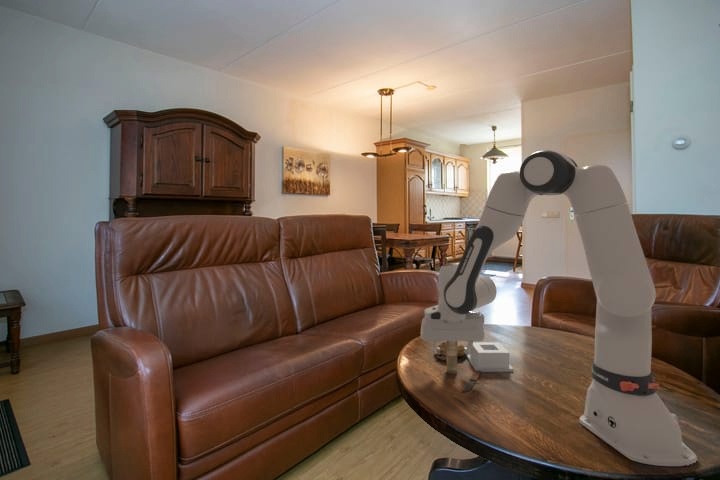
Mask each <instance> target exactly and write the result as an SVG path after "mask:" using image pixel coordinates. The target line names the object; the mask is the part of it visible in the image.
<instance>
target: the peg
mask: <svg viewBox="0 0 720 480" xmlns="http://www.w3.org/2000/svg"><path fill="white" fill-rule="evenodd" d="M446 342H447V361H446V373H447V374H449V375H450V374H451V375H454V374H455V375H456V374H458V357H457V344H458V341H446Z"/></svg>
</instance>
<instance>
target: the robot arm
mask: <svg viewBox="0 0 720 480" xmlns="http://www.w3.org/2000/svg"><path fill="white" fill-rule="evenodd" d="M557 195H564V196H565V197H566V198H567V199H568V201H569V202H570V205H571V208H572V212H573V214H574V219H575V222H576V225H577V228H578V232H579V234H580V238H581V242H582V245H583V249H584V253H585V257H586V258H585V259H586V262H587V266H588V270H589V273H590V277H591V282H592V284H593V290H594V293H595V297H596V310H595V327H594V329H595V331H594V357H593V358H594V360H593V361H592V364H591V365H592V366H591V378H592V381H591V383H590V385H589V387H588V388H587V390H586V396H585V403H584V411H583V414H582V415H581V416H580V417H579V421H578V422H579V424H581V425H582V426H583V427H585V428H586V429H588V430H589V431H590V432H592V433H593V434H595V435H596V436H597V437H599V438H600V439H601V440H602V441H603V442H605V443H607V444H608V445H610V446H611V447H613V448H614V449H615V450H617V451H618V452H619V453H620V454H622V455H623V456H625V457H626V458H628V459H629V460H631V461H633V462H637V463H640V464H644V465H645V464H646V465H649V466H652V465H653V466H661V467H683V466H685V465H686V466H691V465H694V464H695V463H697V462H698V456H697V454H696V453H695V452H694V451H692V450H691V448H690V447H688V446H687V445H686V444H685V443H684V442H683V438H682V436H683V435H682V430H681V426H680V424H679V419H678V417H677V415H676V414H675V413H671V412H670V411H669V409H668V407H667V406H666V405H665V403H664V402H663V400H662V399H661V398H660V396H659V395H658V393H657V389H660V387H659V386H660V383H657V382H656V381H655V377H654V374H653V372H652V371H651V370H652V369H651V367H652V366H651V365H652V345H653V344H652V341H653V340H652V339H653V337H652V335H653V334H652V307H653V305H654V304H655V301H656V297H657V296H656V295H657V291H656V287H655V284H654V280H653V278H652V274H651V272H650V269H649V266H648V263H647V260H646V256H645V255H644V254H645V253H644V251H643V248H642V244H641V241H640V238H639V236H638V233H637V229H636V226H635V223H634V220H633V216H632V213H631V210H630V207H629V203H628V201H627V198H626V195H625V192H624V189H623V188H622V186H621V183H620V181H619V180H618V178H617V176H616V174H615V173H614V171H613V170H612V168H610V166H607V165H604V164H590V165H587V166H582V167H578V165H577V163H576V162H575V160H574V159H572V158H571V157H570V156H567V155H565V154H564V153H562V152H559V151H558V152H557V151H554V150H550V149H549V150H547V149H544V150H543V149H542V150H538V151H536V152H533V153H531V154H529V155H528V156H527V157H526V158H525V159H524V160H523V162H522V163H521V165H520V168H519V171H518V170H508V171H504V172H502V173H500V174H499V175H498V176H497V178H496V180H495V181H494V183H493V185H492V187H491V190H490V191H489V194H488V196H487V198H486V202H485V205H484V208H483V210H482V213H481V216H480V218H479V220H478V223H477V225H476V227H475V229H474V231H473V232H472V234H471V236H470V238H469V239H468V242H467V245H466V247H465V250H464V252H463V254H462V257H461V258H460V261H458V262H451V263H445V264H442V265H441V266H440V268H439V274H438V281H437V282H438V285H437V289H438V293H439V298H438V301H437V303H438V304H437V305H433V306H429V307H427V308H425V309H424V317H423V318H422V320H421V325H420V339H422V341H424V342H431V345H432V346H433V348H434V351H435V352H434V354H435V355H437V354H440V348H439V347H438V346H437V344H438V342H447V341H457V342H467V345H466V346H464V355H470V348H471V346H472V345H473V342H482V341H483V340H484V339H485V328H484V324H485V316H484V314H483V313H481V312H480V311H474V310H477V309H479V308H483V307H485V306H487V305H489V304H491V303H493V302H494V300H495V299H496V296H497V287H496V286H497V285H496V284H495V282H494V280H493V279H492V278H490V277H489V276H487V275H483V274H481V273H482V271H483V268H484V265H485V264H486V261H487V259H488V257H489V256H490V255H491V254H492V253H493V251H494V250H496V249H497V248H499V247H500V246H501V245H503V244H505V243H506V242H508V241H510V240H511V239H513V238H514V237H515V236H516V234H517V233H518V231H519V229H520V228H521V227H522V224H523V222H524V219H525V216H526V213H527V210H528V207H529V205H530V204H531V203H530V202H531V201H532V199H534V198H535V197H536V196H557ZM696 461H697V462H696ZM693 463H694V464H693ZM690 464H691V465H690ZM686 466H685V467H686Z"/></svg>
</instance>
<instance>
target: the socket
mask: <svg viewBox="0 0 720 480" xmlns="http://www.w3.org/2000/svg"><path fill="white" fill-rule="evenodd" d="M466 359H467V361H469V364H471V366H472V367H473V369H474V370H475V372H476V371H482V373H483V372H485V373H487V372H488V373H495V372H496V373H500V372H501V373H502V372H503V373H504V372H505V373H508V372H509V373H513V372H514V367H512V366H511V365H510V352H509V351H508V350H507V349H506V348H505V347H504V346H503V345H502V344H501V343H500V341H499V342H498V341H497V342H496V341H495V342H491V341H490V342H487V341H486V342H485V341H483V342H482V341H473V345H472V346H471V348H470V349H469V354H466Z"/></svg>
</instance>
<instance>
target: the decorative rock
mask: <svg viewBox="0 0 720 480" xmlns="http://www.w3.org/2000/svg"><path fill="white" fill-rule="evenodd" d="M437 347H439V348H440V354H436V358H437V359H438V360H439V359H441V360H440V361H442V360H444V361H445V360H446V362H447V341H442V343H440V344H438V345H437ZM464 347H465V345H462V344H459V343H457V358H458V357H463V356H465V354H464ZM434 353H435V350H434Z"/></svg>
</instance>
